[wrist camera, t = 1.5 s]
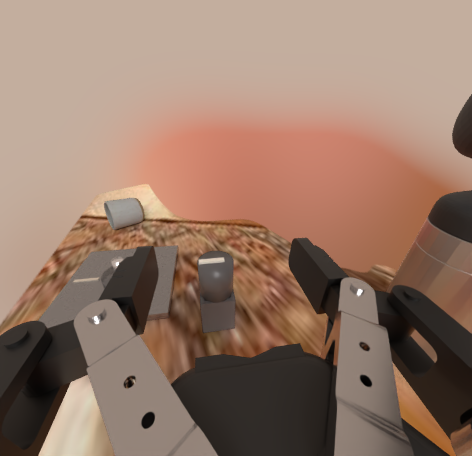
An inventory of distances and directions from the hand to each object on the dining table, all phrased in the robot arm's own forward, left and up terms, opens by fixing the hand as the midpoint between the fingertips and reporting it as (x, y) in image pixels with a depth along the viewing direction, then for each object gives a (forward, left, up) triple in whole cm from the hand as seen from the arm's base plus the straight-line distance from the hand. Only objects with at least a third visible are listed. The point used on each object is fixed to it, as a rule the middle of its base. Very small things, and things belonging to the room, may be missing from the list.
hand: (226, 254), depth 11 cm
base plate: (+8, -25, -20) cm, 33 cm away
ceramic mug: (+6, -51, -21) cm, 55 cm away
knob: (-4, -10, -20) cm, 23 cm away
